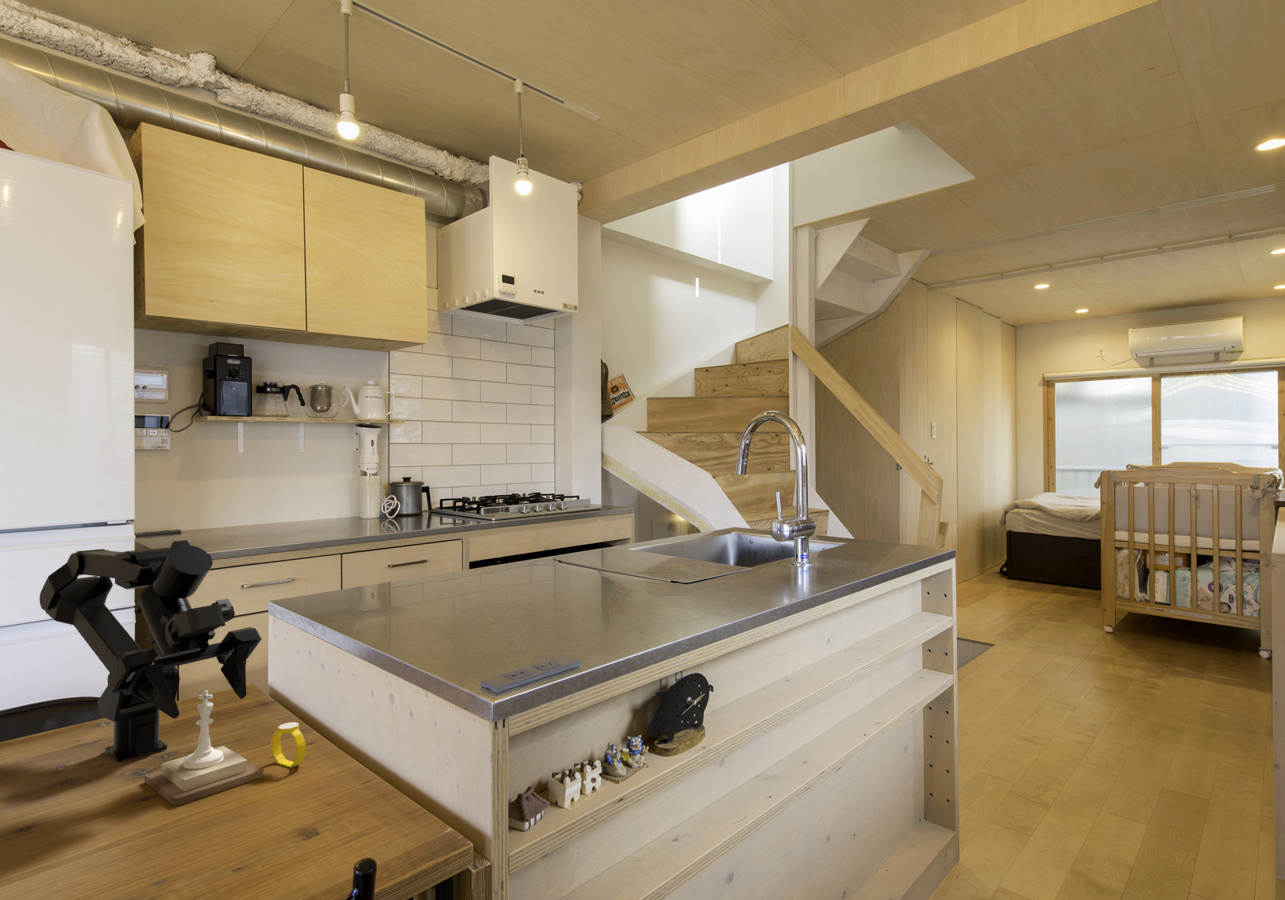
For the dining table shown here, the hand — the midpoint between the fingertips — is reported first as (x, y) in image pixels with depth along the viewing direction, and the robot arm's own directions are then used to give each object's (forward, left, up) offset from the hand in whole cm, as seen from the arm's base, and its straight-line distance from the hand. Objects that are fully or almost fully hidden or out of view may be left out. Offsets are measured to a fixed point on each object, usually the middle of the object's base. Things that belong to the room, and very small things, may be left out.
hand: (211, 706), depth 99 cm
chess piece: (-1, 0, -8) cm, 8 cm away
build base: (-1, 0, -11) cm, 11 cm away
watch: (+3, +10, -11) cm, 15 cm away
